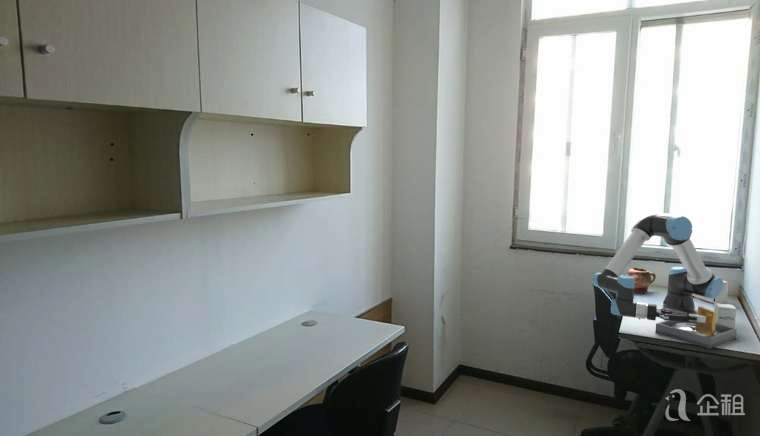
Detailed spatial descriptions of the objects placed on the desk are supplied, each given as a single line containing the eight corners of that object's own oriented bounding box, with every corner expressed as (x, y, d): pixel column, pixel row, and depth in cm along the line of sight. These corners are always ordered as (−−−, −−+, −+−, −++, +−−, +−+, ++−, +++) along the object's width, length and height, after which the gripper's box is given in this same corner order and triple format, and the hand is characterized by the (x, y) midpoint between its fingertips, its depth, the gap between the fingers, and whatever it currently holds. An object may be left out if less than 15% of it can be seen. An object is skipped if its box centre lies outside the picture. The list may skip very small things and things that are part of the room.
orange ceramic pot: (645, 288, 322) (647, 266, 320) (660, 293, 310) (662, 270, 308) (618, 289, 317) (620, 267, 315) (632, 295, 305) (634, 272, 304)
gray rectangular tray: (681, 323, 255) (682, 314, 255) (735, 338, 235) (736, 329, 235) (655, 332, 242) (656, 323, 242) (709, 348, 222) (710, 338, 222)
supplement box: (715, 332, 243) (718, 306, 241) (712, 327, 250) (714, 302, 248) (734, 334, 240) (736, 308, 239) (729, 329, 247) (732, 304, 246)
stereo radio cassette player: (727, 304, 289) (730, 269, 286) (715, 305, 287) (718, 270, 284) (696, 294, 309) (699, 261, 306) (685, 295, 307) (688, 262, 304)
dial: (665, 326, 245) (667, 301, 243) (695, 324, 249) (698, 299, 247) (696, 340, 228) (698, 313, 226) (728, 337, 231) (730, 311, 230)
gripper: (646, 315, 248) (703, 323, 237) (646, 323, 236) (706, 331, 226) (647, 300, 247) (704, 307, 236) (647, 307, 235) (707, 315, 225)
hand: (705, 319), depth 231 cm, fingers closed
